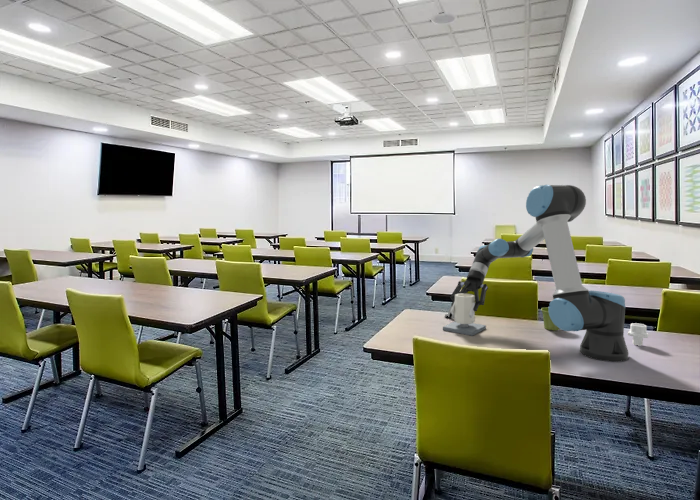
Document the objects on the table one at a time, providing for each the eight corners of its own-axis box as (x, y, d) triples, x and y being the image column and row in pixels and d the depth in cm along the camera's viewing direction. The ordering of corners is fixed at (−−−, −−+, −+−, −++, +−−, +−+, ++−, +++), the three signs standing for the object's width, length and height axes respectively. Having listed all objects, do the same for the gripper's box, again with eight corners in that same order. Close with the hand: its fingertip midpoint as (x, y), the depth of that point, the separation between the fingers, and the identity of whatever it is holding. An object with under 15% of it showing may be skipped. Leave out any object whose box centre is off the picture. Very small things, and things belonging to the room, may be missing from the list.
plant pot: (568, 330, 182) (569, 311, 181) (550, 332, 180) (551, 313, 179) (553, 325, 191) (554, 306, 190) (535, 326, 189) (536, 308, 188)
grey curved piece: (458, 311, 220) (464, 294, 217) (466, 315, 217) (472, 298, 214) (443, 317, 207) (450, 300, 204) (451, 322, 204) (458, 304, 201)
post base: (485, 328, 187) (486, 306, 186) (472, 335, 176) (472, 312, 175) (457, 323, 196) (457, 302, 195) (442, 329, 185) (442, 307, 184)
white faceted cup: (476, 321, 186) (477, 294, 185) (468, 324, 180) (469, 297, 179) (460, 318, 192) (460, 292, 190) (451, 321, 186) (452, 295, 184)
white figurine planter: (626, 345, 161) (627, 325, 161) (628, 341, 167) (629, 321, 166) (646, 348, 157) (647, 328, 157) (648, 344, 163) (649, 324, 162)
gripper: (501, 281, 189) (486, 323, 178) (458, 277, 203) (442, 315, 192) (497, 271, 185) (481, 313, 174) (454, 267, 198) (437, 306, 188)
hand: (461, 314), depth 183 cm, fingers closed on white faceted cup, 8 cm apart
